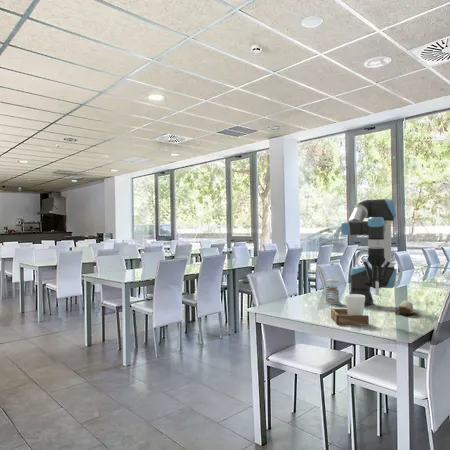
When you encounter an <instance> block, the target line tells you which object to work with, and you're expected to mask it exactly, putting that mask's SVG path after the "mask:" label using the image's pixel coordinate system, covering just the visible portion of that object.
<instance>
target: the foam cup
mask: <svg viewBox="0 0 450 450" xmlns="http://www.w3.org/2000/svg"><path fill="white" fill-rule="evenodd" d="M344 299H345V304H346V309H347V312H348V315H364V310H365V305H364V303H365V296H364V295H359V294H350V293H348V294H345V297H344Z"/></svg>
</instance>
